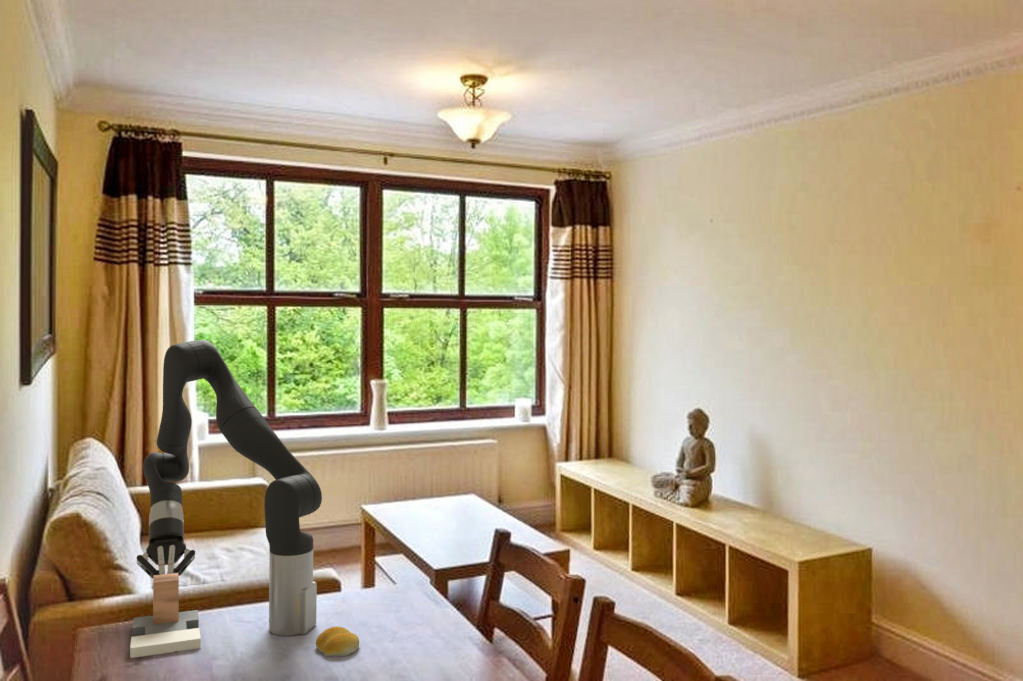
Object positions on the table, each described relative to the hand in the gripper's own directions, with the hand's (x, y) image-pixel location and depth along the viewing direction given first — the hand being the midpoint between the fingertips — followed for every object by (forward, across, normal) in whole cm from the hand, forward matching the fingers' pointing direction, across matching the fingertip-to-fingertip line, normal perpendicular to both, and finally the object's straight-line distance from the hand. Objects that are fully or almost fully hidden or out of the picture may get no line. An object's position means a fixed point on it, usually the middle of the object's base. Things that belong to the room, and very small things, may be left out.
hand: (166, 592), depth 178 cm
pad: (+16, 0, -7) cm, 17 cm away
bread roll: (+25, +32, -16) cm, 44 cm away
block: (+6, 0, 0) cm, 6 cm away
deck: (+10, 0, -1) cm, 10 cm away
